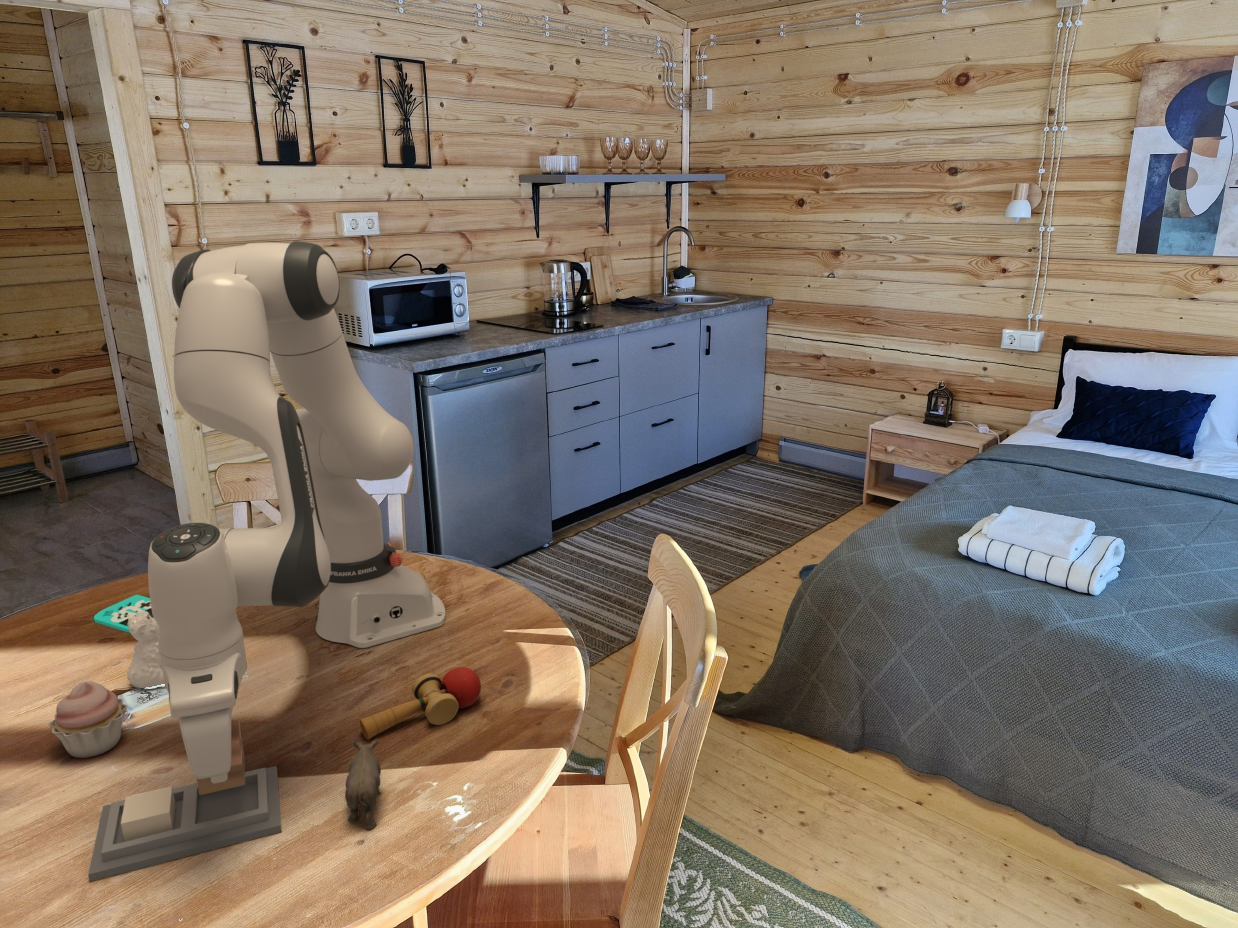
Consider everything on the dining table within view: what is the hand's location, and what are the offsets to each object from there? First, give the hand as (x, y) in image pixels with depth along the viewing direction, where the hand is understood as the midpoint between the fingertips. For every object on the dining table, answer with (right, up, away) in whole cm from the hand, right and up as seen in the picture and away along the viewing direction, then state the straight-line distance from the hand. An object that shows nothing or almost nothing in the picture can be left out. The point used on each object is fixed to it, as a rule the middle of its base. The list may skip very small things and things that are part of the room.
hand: (220, 762), depth 103 cm
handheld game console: (-38, +8, +51) cm, 64 cm away
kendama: (+20, -1, +22) cm, 29 cm away
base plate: (-4, -8, +1) cm, 8 cm away
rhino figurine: (+16, -6, +6) cm, 18 cm away
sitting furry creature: (-24, +2, +31) cm, 39 cm away
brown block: (0, -2, +1) cm, 2 cm away
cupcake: (-24, -3, +15) cm, 29 cm away
